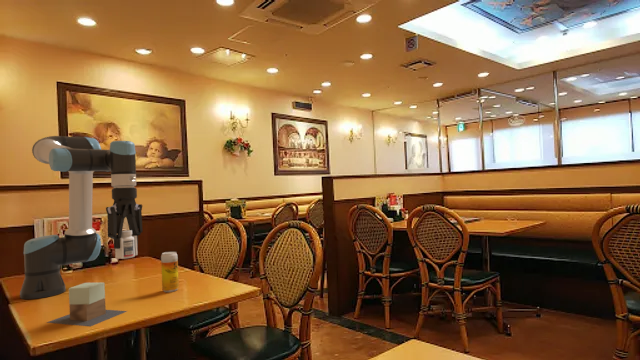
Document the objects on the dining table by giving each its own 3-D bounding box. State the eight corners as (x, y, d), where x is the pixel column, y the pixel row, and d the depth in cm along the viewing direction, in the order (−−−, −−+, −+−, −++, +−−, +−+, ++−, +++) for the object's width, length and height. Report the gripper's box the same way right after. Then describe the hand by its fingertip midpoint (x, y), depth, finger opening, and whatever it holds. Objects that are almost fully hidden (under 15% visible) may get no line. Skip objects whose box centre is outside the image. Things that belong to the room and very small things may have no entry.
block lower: (69, 319, 122) (69, 303, 122) (89, 312, 129) (88, 297, 129) (86, 321, 120) (86, 304, 120) (105, 313, 127) (105, 298, 127)
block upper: (69, 304, 122) (68, 288, 122) (85, 297, 129) (85, 282, 129) (89, 304, 121) (88, 288, 121) (105, 297, 128) (104, 282, 128)
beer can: (173, 292, 151) (171, 254, 151) (159, 292, 152) (157, 254, 152) (181, 288, 157) (180, 251, 157) (168, 288, 158) (166, 251, 158)
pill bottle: (121, 256, 132) (120, 230, 132) (137, 255, 133) (136, 229, 133) (114, 259, 127) (114, 232, 127) (131, 258, 128) (130, 231, 128)
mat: (46, 323, 121) (46, 322, 121) (86, 309, 134) (86, 308, 134) (90, 327, 115) (90, 326, 115) (127, 312, 128) (127, 311, 128)
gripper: (111, 187, 120) (113, 262, 120) (152, 186, 138) (155, 251, 138) (92, 188, 123) (94, 261, 122) (135, 187, 140) (137, 251, 140)
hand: (126, 256), depth 130 cm, fingers closed on pill bottle, 5 cm apart
